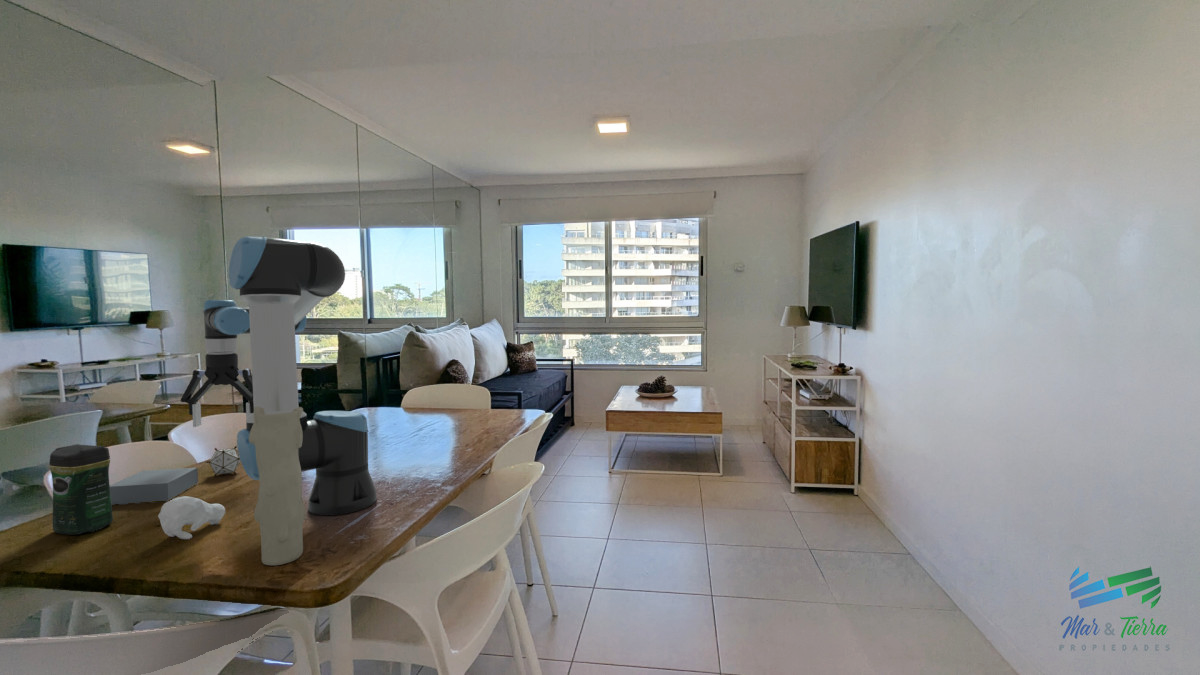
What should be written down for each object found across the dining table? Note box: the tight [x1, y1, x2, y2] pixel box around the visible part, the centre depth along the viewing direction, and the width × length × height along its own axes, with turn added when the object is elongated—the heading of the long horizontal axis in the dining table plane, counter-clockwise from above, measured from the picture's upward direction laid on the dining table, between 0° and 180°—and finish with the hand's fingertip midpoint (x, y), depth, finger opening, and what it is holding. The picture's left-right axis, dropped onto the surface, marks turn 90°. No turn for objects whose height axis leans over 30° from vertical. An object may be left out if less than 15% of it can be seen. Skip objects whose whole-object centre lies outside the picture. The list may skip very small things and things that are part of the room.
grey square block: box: [109, 467, 199, 506], centre depth 131 cm, size 13×13×5 cm
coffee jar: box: [48, 443, 114, 536], centre depth 110 cm, size 10×8×19 cm
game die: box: [205, 445, 241, 477], centre depth 147 cm, size 9×8×10 cm
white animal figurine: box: [157, 495, 226, 540], centre depth 109 cm, size 6×8×12 cm
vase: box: [249, 406, 306, 566], centre depth 97 cm, size 9×8×30 cm
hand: (223, 425), depth 147 cm, fingers open, 13 cm apart
